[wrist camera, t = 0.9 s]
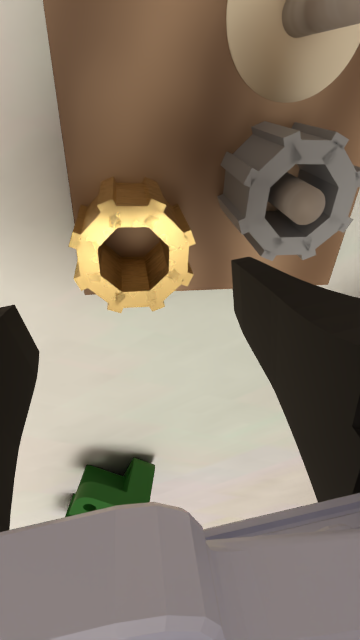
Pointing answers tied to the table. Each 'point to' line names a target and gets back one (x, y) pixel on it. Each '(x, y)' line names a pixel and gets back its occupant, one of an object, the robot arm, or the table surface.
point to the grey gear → (268, 167)
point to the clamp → (112, 488)
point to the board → (202, 109)
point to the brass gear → (131, 272)
